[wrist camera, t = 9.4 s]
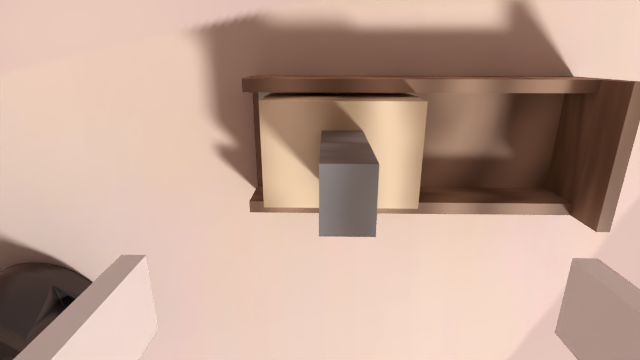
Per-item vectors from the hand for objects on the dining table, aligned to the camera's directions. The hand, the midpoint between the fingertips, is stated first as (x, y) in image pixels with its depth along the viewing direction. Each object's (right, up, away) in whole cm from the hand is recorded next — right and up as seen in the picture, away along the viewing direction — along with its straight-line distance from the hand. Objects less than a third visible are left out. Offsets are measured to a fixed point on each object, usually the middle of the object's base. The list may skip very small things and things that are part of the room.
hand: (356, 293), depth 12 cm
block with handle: (+1, +7, +22) cm, 23 cm away
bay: (+7, +7, +23) cm, 25 cm away
